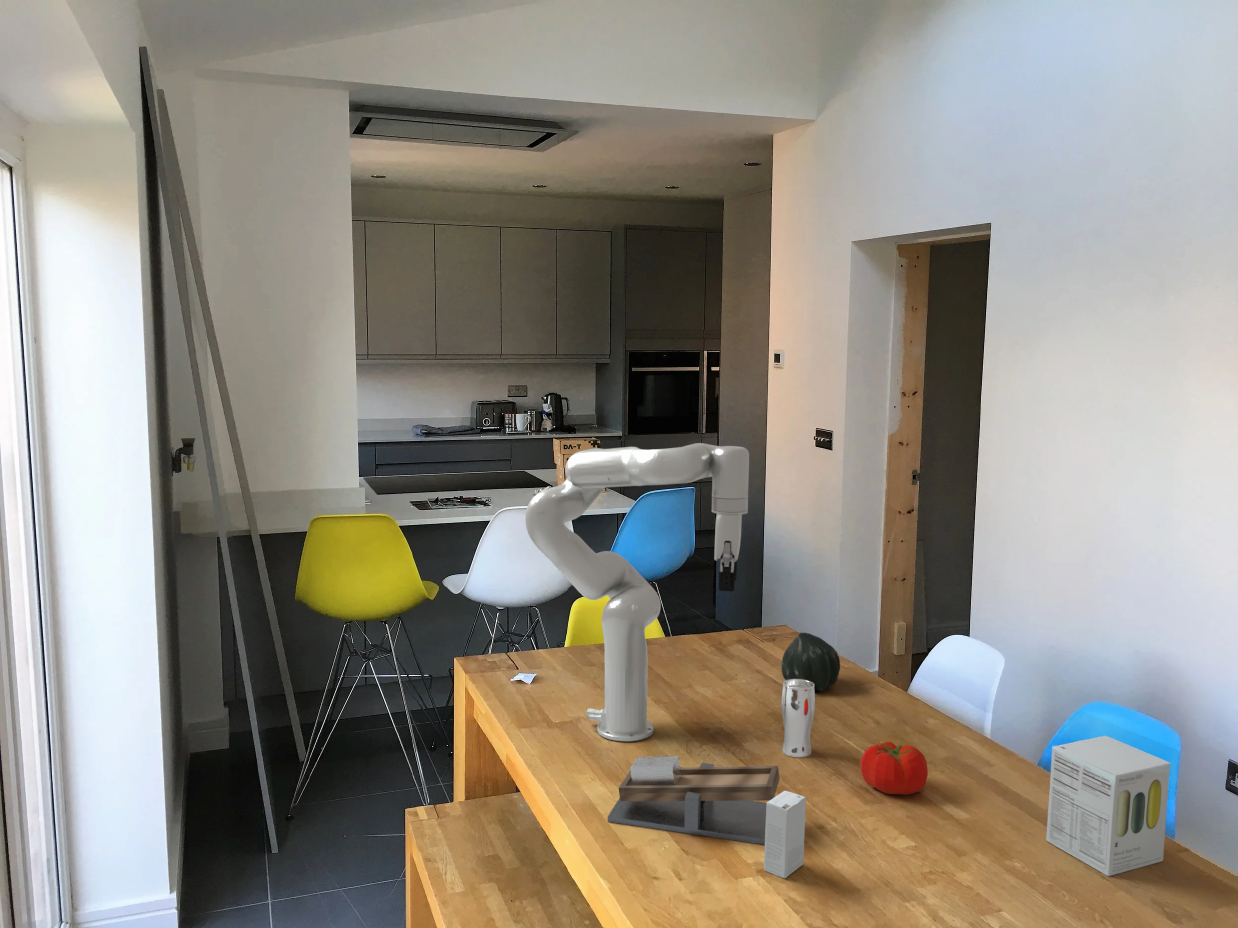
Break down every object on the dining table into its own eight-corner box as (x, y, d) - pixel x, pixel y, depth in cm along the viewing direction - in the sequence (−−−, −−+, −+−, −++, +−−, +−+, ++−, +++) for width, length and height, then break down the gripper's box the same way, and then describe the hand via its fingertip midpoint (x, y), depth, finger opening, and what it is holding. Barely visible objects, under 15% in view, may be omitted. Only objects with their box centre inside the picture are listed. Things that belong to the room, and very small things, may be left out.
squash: (858, 665, 251) (822, 616, 255) (838, 683, 238) (800, 632, 242) (818, 692, 258) (783, 645, 262) (796, 711, 245) (760, 661, 249)
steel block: (632, 788, 180) (630, 767, 180) (639, 777, 185) (637, 756, 184) (675, 788, 178) (672, 766, 177) (681, 776, 182) (678, 755, 182)
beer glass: (813, 759, 205) (815, 690, 203) (779, 756, 206) (781, 687, 205) (813, 746, 212) (815, 679, 210) (780, 744, 213) (782, 677, 212)
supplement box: (1108, 878, 160) (1115, 775, 158) (1044, 841, 172) (1050, 745, 170) (1165, 861, 165) (1172, 762, 163) (1099, 827, 177) (1105, 733, 175)
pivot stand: (606, 822, 177) (607, 785, 176) (629, 787, 191) (629, 753, 190) (779, 848, 168) (780, 809, 167) (789, 809, 182) (790, 773, 182)
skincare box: (781, 856, 165) (783, 788, 164) (805, 865, 163) (807, 796, 161) (762, 871, 161) (764, 800, 159) (786, 880, 158) (788, 809, 156)
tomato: (928, 779, 196) (929, 738, 195) (926, 806, 184) (928, 763, 183) (863, 770, 200) (864, 730, 199) (857, 796, 188) (858, 753, 187)
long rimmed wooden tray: (620, 801, 179) (618, 787, 179) (633, 780, 187) (631, 768, 187) (773, 800, 171) (771, 786, 171) (779, 778, 179) (777, 765, 179)
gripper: (714, 498, 214) (712, 575, 216) (708, 511, 197) (707, 594, 199) (749, 499, 213) (746, 577, 215) (746, 512, 196) (744, 596, 198)
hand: (727, 585), depth 207 cm, fingers open, 9 cm apart
